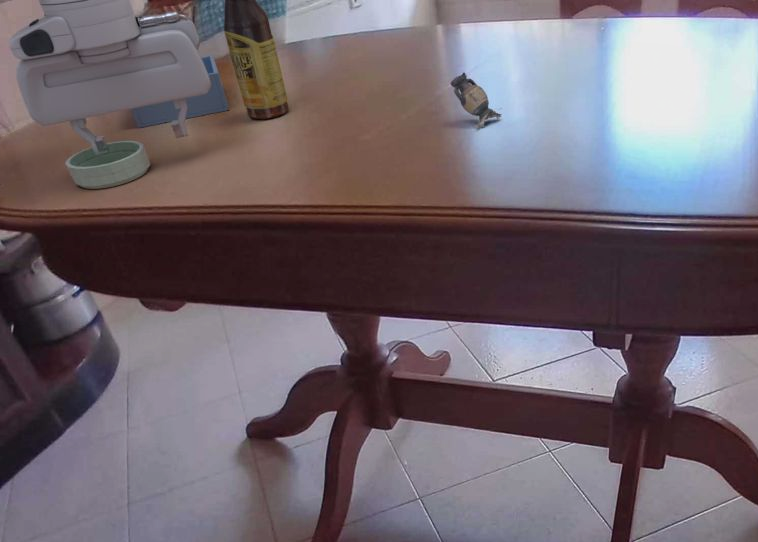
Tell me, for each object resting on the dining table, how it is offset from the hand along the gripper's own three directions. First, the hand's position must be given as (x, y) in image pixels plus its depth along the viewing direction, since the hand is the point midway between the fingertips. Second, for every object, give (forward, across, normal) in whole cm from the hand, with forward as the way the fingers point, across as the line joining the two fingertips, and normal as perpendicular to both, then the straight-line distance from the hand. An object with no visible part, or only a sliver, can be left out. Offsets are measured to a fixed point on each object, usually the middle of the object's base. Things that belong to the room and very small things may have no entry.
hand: (143, 144), depth 87 cm
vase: (+4, -40, +9) cm, 42 cm away
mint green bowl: (+3, +5, 0) cm, 5 cm away
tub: (+3, -4, -26) cm, 27 cm away
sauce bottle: (+3, -16, -13) cm, 21 cm away
